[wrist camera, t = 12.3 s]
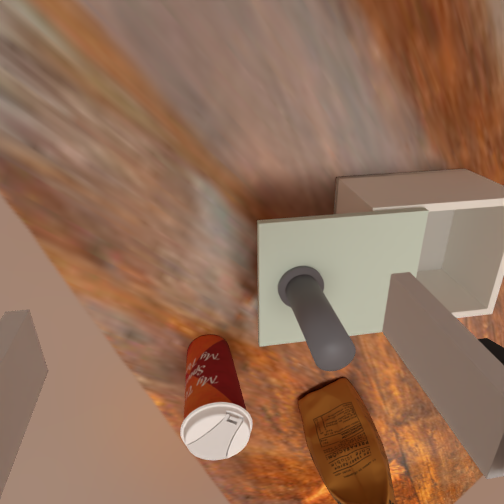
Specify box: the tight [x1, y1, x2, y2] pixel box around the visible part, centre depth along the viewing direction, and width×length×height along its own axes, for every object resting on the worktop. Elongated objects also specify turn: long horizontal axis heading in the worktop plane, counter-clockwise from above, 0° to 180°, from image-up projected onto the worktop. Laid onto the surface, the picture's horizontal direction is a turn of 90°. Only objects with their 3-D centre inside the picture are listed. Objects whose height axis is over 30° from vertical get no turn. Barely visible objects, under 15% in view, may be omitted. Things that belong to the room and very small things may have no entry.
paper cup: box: [181, 335, 252, 460], centre depth 50 cm, size 8×8×14 cm
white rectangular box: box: [334, 169, 504, 318], centre depth 48 cm, size 14×16×10 cm
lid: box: [257, 208, 429, 371], centre depth 37 cm, size 14×16×11 cm
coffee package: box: [298, 378, 396, 504], centre depth 56 cm, size 10×12×22 cm
